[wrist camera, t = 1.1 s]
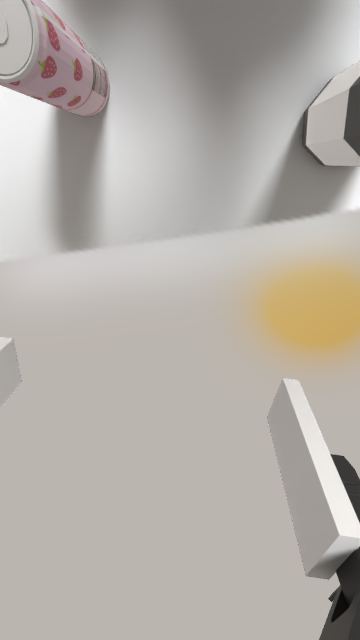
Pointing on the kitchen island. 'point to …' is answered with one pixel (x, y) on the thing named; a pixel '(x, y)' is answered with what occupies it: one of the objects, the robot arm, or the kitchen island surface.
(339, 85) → the wine bottle
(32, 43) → the beverage can
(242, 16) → the kitchen island surface
